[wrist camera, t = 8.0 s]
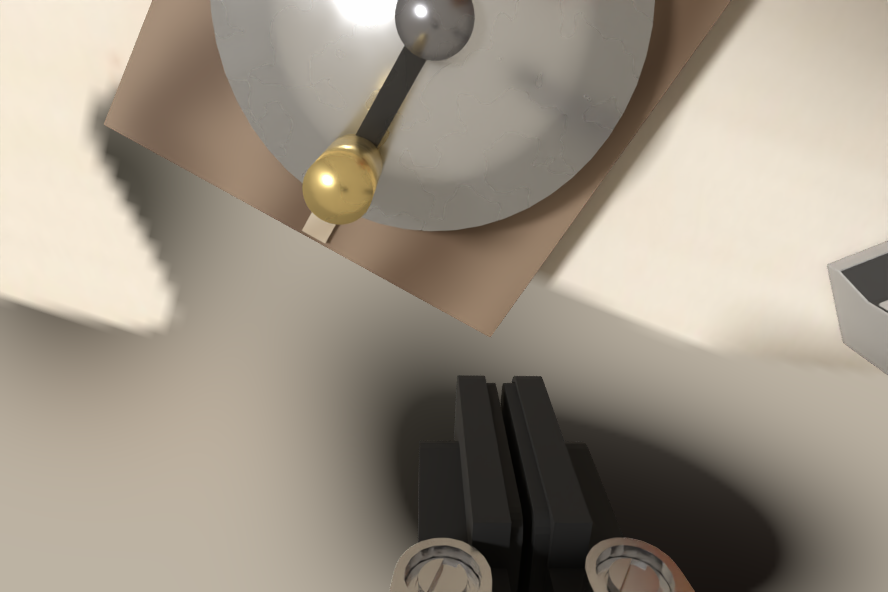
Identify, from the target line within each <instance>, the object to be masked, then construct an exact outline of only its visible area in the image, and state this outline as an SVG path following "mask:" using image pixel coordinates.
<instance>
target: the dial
mask: <svg viewBox="0 0 888 592" xmlns="http://www.w3.org/2000/svg"><path fill="white" fill-rule="evenodd" d="M210 3H211V15H212V21H213V27H214V33H215V38H216V44H217V47H218V51H219V54H220V57H221V61H222V64H223V68H224V71H225V74H226V76H227V79H228V81H229V83H230V86H231V88H232V91H233V93H234V95H235V98H236V100H237V102H238V104H239V106H240V107H241V109H242V111H243V113H244V114H245V116H246V118H247V120H248V121H249V123H250V125H251V127H252V128H253V130H254V131H255V132H256V134H257V135H258V136H259V138H260V139H261V140H262V142H263V143H264V144H265V146H266V147H267V149H268V150H269V151H270V152H271V153H272V154H273V155H274V156H275V158H276V159H277V160H278V161H279V162H280V163H281V164H282V165H283V166H284V167H285V168H286V169H287V170H288V171H289V172H290V173H291V174H292V175H293V176H295V177H296V178H297V179H298V180H299V181H300V182H302V183H303V185H302V190H303V196H304V200H305V202H306V204H307V206H308V208H309V209H310V210H311V212H312V213H313V214H314V215H315V216H317V217H318V218H319V219H321V220H323V221H325V222H328V223H331V224H337V225H343V224H349V223H352V222H354V221H356V220H358V219H359V218H361V217H362V218H365V219H368V220H370V221H373V222H376V223H379V224H383V225H388V226H393V227H397V228H402V229H410V230H422V231H446V230H459V229H465V228H471V227H477V226H482V225H485V224H488V223H492V222H495V221H498V220H501V219H505V218H507V217H509V216H512V215H514V214H516V213H518V212H521V211H523V210H525V209H527V208H529V207H531V206H533V205H534V204H536V203H538V202H539V201H541V200H543V199H544V198H546V197H548V196H549V195H551V194H552V193H553V192H555V191H556V190H557V189H559V188H560V187H561V186H562V185H564V184H565V183H566V182H568V181H569V180H570V179H571V178H573V177H574V176H575V175H576V174H577V173H578V172H579V171H580V170H581V169H582V168H583V167H584V166H585V165H586V164H587V163H588V162H589V161H590V160H591V159H592V157H593V156H594V155H595V154H596V152H597V151H598V150H599V149H600V147H601V146H602V145H603V144H604V142H605V141H606V140H607V138H608V137H609V136H610V134H611V133H612V131H613V129H614V128H615V126H616V124H617V123H618V121H619V120H620V118H621V116H622V115H623V113H624V111H625V109H626V107H627V105H628V103H629V101H630V98H631V96H632V94H633V92H634V90H635V88H636V86H637V83H638V80H639V77H640V74H641V71H642V68H643V65H644V62H645V59H646V55H647V51H648V46H649V41H650V36H651V31H652V27H653V17H654V6H655V0H210Z"/></svg>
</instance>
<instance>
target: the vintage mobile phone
mask: <svg viewBox="0 0 888 592" xmlns="http://www.w3.org/2000/svg"><path fill="white" fill-rule="evenodd" d="M827 268H828V273H829V278H830V283H831V287H832V292H833V297H834V302H835V307H836V311H837V316H838V321H839V326H840V331H841V336H842V340H843V343H844V344H846V345H847V346H848V347H850V348H851V349H852V350H854V351H855V352H857V353H858V354H859V355H861V356H862V357H863V358H865V359H866V360H868V361H869V362H870V363H872V364H873V365H874V366H876V367H877V368H879V369H880V370H881V371H883V372H884V373H886V374H887V375H888V241H886V242H883V243H881V244H878V245H876V246H873V247H871V248H868V249H866V250H863V251H861V252H858V253H856V254H853V255H850V256H848V257H845V258H843V259H840V260H838V261H835V262H833V263H830V264H828V265H827Z"/></svg>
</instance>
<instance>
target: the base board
mask: <svg viewBox="0 0 888 592" xmlns="http://www.w3.org/2000/svg"><path fill="white" fill-rule="evenodd" d="M730 1H731V0H655V6H654V17H653V27H652V31H651V36H650V41H649V46H648V51H647V55H646V59H645V62H644V65H643V68H642V71H641V74H640V77H639V80H638V83H637V86H636V88H635V90H634V92H633V94H632V96H631V98H630V101H629V103H628V105H627V107H626V109H625V111H624V113H623V115H622V116H621V118H620V120H619V121H618V123H617V124H616V126H615V128H614V129H613V131H612V133H611V134H610V136H609V137H608V138H607V140H606V141H605V142H604V144H603V145H602V146H601V147H600V149H599V150H598V151H597V152H596V154H595V155H594V156H593V157H592V159H591V160H590V161H589V162H588V163H587V164H586V165H585V166H584V167H583V168H582V169H581V170H580V171H579V172H578V173H577V174H576V175H575V176H574V177H573V178H571V179H570V180H569V181H568V182H566V183H565V184H564V185H562V186H561V187H560V188H559V189H557V190H556V191H555V192H553V193H552V194H551V195H549V196H548V197H546V198H544V199H543V200H541V201H539V202H538V203H536V204H534V205H533V206H531V207H529V208H527V209H525V210H523V211H521V212H518V213H516V214H514V215H512V216H509V217H507V218H505V219H501V220H498V221H495V222H492V223H488V224H485V225H482V226H477V227H471V228H465V229H459V230H446V231H422V230H410V229H402V228H397V227H393V226H388V225H383V224H379V223H376V222H373V221H370V220H368V219H365V218H362V217H361V218H359V219H358V220H356V221H354V222H352V223H349V224H343V225H337V224H331V223H328V222H325V221H323V220H321V219H319V218H318V217H317V216H315V215H314V214H313V213H312V212H311V210H310V209H309V208H308V206H307V204H306V202H305V200H304V196H303V190H302V185H303V183H302V182H300V181H299V180H298V179H297V178H296V177H295V176H293V175H292V174H291V173H290V172H289V171H288V170H287V169H286V168H285V167H284V166H283V165H282V164H281V163H280V162H279V161H278V160H277V159H276V158H275V156H274V155H273V154H272V153H271V152H270V151H269V150H268V149H267V147H266V146H265V144H264V143H263V142H262V140H261V139H260V138H259V136H258V135H257V134H256V132H255V131H254V130H253V128H252V127H251V125H250V123H249V121H248V120H247V118H246V116H245V114H244V113H243V111H242V109H241V107H240V106H239V104H238V102H237V100H236V98H235V95H234V93H233V91H232V88H231V86H230V83H229V81H228V79H227V76H226V74H225V71H224V68H223V64H222V61H221V57H220V54H219V51H218V47H217V44H216V38H215V33H214V27H213V21H212V15H211V3H210V0H152V3H151V5H150V8H149V10H148V13H147V15H146V18H145V20H144V23H143V25H142V28H141V31H140V33H139V36H138V38H137V41H136V43H135V46H134V48H133V51H132V54H131V56H130V59H129V61H128V64H127V66H126V69H125V71H124V74H123V76H122V79H121V82H120V84H119V87H118V89H117V92H116V94H115V97H114V99H113V102H112V105H111V107H110V110H109V112H108V115H107V117H106V120H105V122H104V125H105V126H107V127H109V128H111V129H113V130H115V131H116V132H118V133H120V134H122V135H124V136H125V137H127V138H129V139H131V140H133V141H134V142H136V143H138V144H140V145H142V146H144V147H146V148H147V149H149V150H151V151H153V152H154V153H156V154H158V155H160V156H162V157H164V158H165V159H167V160H169V161H171V162H173V163H174V164H176V165H178V166H180V167H182V168H184V169H185V170H187V171H189V172H191V173H193V174H194V175H196V176H198V177H200V178H202V179H204V180H205V181H207V182H209V183H211V184H213V185H215V186H216V187H218V188H220V189H222V190H223V191H225V192H227V193H229V194H231V195H233V196H234V197H236V198H238V199H240V200H242V201H243V202H246V203H247V204H249V205H251V206H253V207H254V208H256V209H258V210H260V211H262V212H263V213H265V214H267V215H269V216H271V217H273V218H274V219H276V220H278V221H280V222H282V223H283V224H285V225H287V226H289V227H291V228H292V229H294V230H296V231H298V232H300V233H302V234H303V235H305V236H307V237H309V238H311V239H313V240H314V241H316V242H318V243H320V244H322V245H323V246H325V247H327V248H329V249H331V250H333V251H334V252H336V253H338V254H340V255H342V256H343V257H345V258H347V259H349V260H351V261H352V262H354V263H356V264H358V265H360V266H362V267H363V268H365V269H367V270H369V271H371V272H372V273H374V274H376V275H378V276H380V277H382V278H383V279H386V280H387V281H389V282H391V283H392V284H394V285H396V286H398V287H400V288H402V289H403V290H405V291H407V292H409V293H410V294H412V295H415V296H416V297H418V298H420V299H421V300H423V301H425V302H427V303H429V304H431V305H432V306H434V307H436V308H438V309H440V310H441V311H443V312H445V313H447V314H449V315H451V316H452V317H454V318H456V319H458V320H459V321H461V322H463V323H465V324H467V325H469V326H470V327H472V328H474V329H476V330H478V331H479V332H481V333H483V334H485V335H487V336H489V337H491V336H492V334H493V332H494V331H495V330H496V329H497V327H498V326H499V324H500V323H501V322H502V320H503V319H504V317H505V316H506V315H507V313H508V312H509V310H510V309H511V308H512V306H513V305H514V303H515V302H516V301H517V299H518V298H519V296H520V295H521V293H522V292H523V291H524V289H525V288H526V287H527V285H528V284H529V282H530V281H531V280H532V278H533V277H534V275H535V274H536V273H537V271H538V270H539V268H540V267H541V266H542V264H543V263H544V261H545V260H546V259H547V257H548V256H549V254H550V253H551V252H552V250H553V249H554V247H555V246H556V245H557V243H558V242H559V240H560V239H561V238H562V236H563V235H564V233H565V232H566V231H567V229H568V228H569V226H570V225H571V224H572V222H573V221H574V219H575V218H576V217H577V215H578V214H579V212H580V211H581V210H582V208H583V207H584V205H585V204H586V203H587V201H588V200H589V198H590V197H591V196H592V194H593V193H594V191H595V190H596V189H597V187H598V186H599V184H600V183H601V182H602V180H603V179H604V177H605V176H606V175H607V173H608V172H609V170H610V169H611V168H612V166H613V165H614V163H615V162H616V161H617V159H618V158H619V156H620V155H621V154H622V152H623V151H624V149H625V148H626V147H627V145H628V144H629V143H630V141H631V140H632V138H633V137H634V136H635V134H636V133H637V131H638V130H639V129H640V127H641V126H642V124H643V123H644V122H645V120H646V119H647V117H648V116H649V115H650V113H651V112H652V110H653V109H654V108H655V106H656V105H657V103H658V102H659V101H660V99H661V98H662V96H663V95H664V94H665V92H666V91H667V89H668V88H669V87H670V85H671V84H672V82H673V81H674V80H675V78H676V77H677V75H678V74H679V73H680V71H681V70H682V68H683V67H684V66H685V64H686V63H687V61H688V60H689V59H690V57H691V56H692V54H693V53H694V52H695V50H696V49H697V47H698V46H699V45H700V43H701V42H702V40H703V39H704V38H705V36H706V35H707V33H708V32H709V31H710V29H711V28H712V26H713V25H714V24H715V22H716V21H717V19H718V18H719V17H720V15H721V14H722V12H723V11H724V10H725V8H726V7H727V5H728V4H729V3H730Z"/></svg>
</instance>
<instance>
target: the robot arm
mask: <svg viewBox="0 0 888 592" xmlns="http://www.w3.org/2000/svg"><path fill="white" fill-rule="evenodd" d="M418 512H419V513H418V543H417V544H415V545H413V546H412V547H410V548H408V550H407V551H406V552H405V553H404V554H403V555H402V556H401V557H400V558H399V560H398V562H397V565H396V567H395V569H394V573H393V577H392V582H391V586H390V590H389V592H695V591H694V590H693V589H692V587H691V585H690V584H689V583H688V581H687V580H686V578H685V576H684V575H683V574H682V572H681V570H680V569H679V568H678V566H677V565H676V564H675V563H674V562H673V561H672V560H671V558H670V557H669V556H667V555H666V554H664V553H663V552H662V551H660V550H659V549H658V548H656V547H654V546H652V545H649V544H647V543H645V542H643V541H639V540H635V539H631V538H624V537H623V534H622V532H621V529H620V527H619V524H618V522H617V519H616V517H615V514H614V512H613V509H612V507H611V504H610V502H609V499H608V497H607V494H606V492H605V489H604V487H603V484H602V482H601V479H600V477H599V474H598V472H597V470H596V467H595V464H594V462H593V459H592V457H591V454H590V452H589V449H588V447H587V445H586V444H585V443H584V442H564V440H563V436H562V434H561V430H560V428H559V425H558V422H557V419H556V416H555V413H554V411H553V407H552V405H551V402H550V399H549V396H548V393H547V390H546V387H545V384H544V382H543V379H542V377H541V376H514V377H513V379H512V383H503V386H502V395H501V407H500V402H499V398H498V393H497V388H496V384H495V383H486V379H485V376H457V388H456V411H455V434H454V441H420V444H419V510H418Z"/></svg>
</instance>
